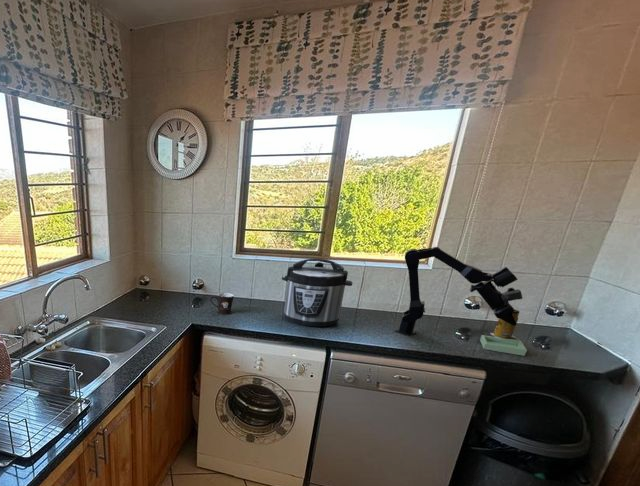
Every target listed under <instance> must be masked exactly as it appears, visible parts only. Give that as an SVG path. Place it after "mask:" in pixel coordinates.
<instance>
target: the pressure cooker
mask: <svg viewBox="0 0 640 486" xmlns="http://www.w3.org/2000/svg"><path fill="white" fill-rule="evenodd" d="M307 262H316V263H315V264H314V266H305V265H306V263H307ZM324 263H326V264H329V265H331V268H330V267H325V266H324V265H325V264H324ZM348 274H349V272H348V270H345V268H344V266H343V265H341V264H339V263H338V262H335V261H332V260H329V259H324V258H306V259H303V260H299V261H297V262H295V263H293V264H292V266H288V268H287V273H286V275H282V276H281V281H285V282H286V283H287V284H286V290H285V291H286V292H285V300H284V306H283V307H284V308H283V315H284V317H285V318H286V320H287V321H289V322H291V323H294V324H297V325H301V326H307V327H318V328H319V327H330V326H333V325H336V324H337V322H338V321H339V319H340V316H341V312H342V305H343V298H344V294H345V288H346V287H352V286H353V281H352V280H348V276H349V275H348Z"/></svg>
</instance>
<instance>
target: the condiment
mask: <svg viewBox="0 0 640 486" xmlns="http://www.w3.org/2000/svg"><path fill="white" fill-rule="evenodd" d="M514 310H515V311H513V313H512V315H513V317H514V319H515V321H516V324H518V321H519V314H520V311H519V310H518V309H514ZM516 326H517V325H515V326H513V325H512V324H510V323H508V322H506V321H504V320H502V319H500V318H498V319H497V323H496V326H495V328H494V331H493V332H489V334H490V335H491V336H492V337H497V338H501V339H511V340H517V341H520V339H519V338H517V337H516V336H514V335H513V334H514V332H515V329H516Z"/></svg>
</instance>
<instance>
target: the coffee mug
mask: <svg viewBox="0 0 640 486" xmlns="http://www.w3.org/2000/svg"><path fill="white" fill-rule="evenodd" d="M234 296H235V295H234V294H233V293H231V292H220V293H217V296H211V298H210V301H209V302H210V303H211V304H212V305H213V306H215V307H216V308H217V311H218V314H219V315H220V314H221V315H230V314H231V312H232V307H233V303H234V302H233V301H234V298H235V297H234ZM214 298H215V299H216V300H217V305H216V304H215V303H213V301H212V300H213V299H214Z"/></svg>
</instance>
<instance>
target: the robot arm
mask: <svg viewBox="0 0 640 486" xmlns="http://www.w3.org/2000/svg"><path fill="white" fill-rule="evenodd" d="M430 258H435V259H437V260H438V261H440V262H441V263H443V264H445V265H446V266H448V267H449V268H452V269H453V270H454V271H456V272H458V273H459V274H460V275H461V276H462V277H463V278H464V279H465V280H467V282H469V283H470V284H471V285H470V288H469V292H470V293H473V292H475V291H476V292H477V294H479V296H480V297H481V298H482V299H483V300H484V302H485V303H486V304H487V305H488V307H489V308H490V309H491V310H492V312H493V314H494V316H495V317H496V319H499V318H500V319H502V320H504V321H506V322H508V323H510V324H512V325H513V326H515V325H516V326H517V324H518V323H516V321H515V319H514V317H513V315H512V313H513V311H515V310H516V309H515V308H514V307H513V306H512V304H510V302H511V301H516V300H523V294H522V291H521V289H518V288H517V289H515V288H514V287H508V288H507V290H506V291H504V292H501V291H500V290H498V288H499V287H500V288H504V287H506V286H508V285H510V284H512V283H514V282H516V281H518V280H519V279H518V278H517V276H516V275H515V274H514V273H513V272H512V271H511V270H510V269H509V268H508V267H507V266H504V267H502V268H501V269H500V270H498V271H496V272H494V273H489V272H485V271H483V270H482V269H481V268H478V267H476V266H473V265H471V264H470V265H469V264H466V263H464V262H462V261H461V260H459V259H457V258H456V257H454V256H452V255H451V254H449V253H448V252H446V251H444V250H443V249H441V248H440V247H439V246H432V247H428V248H426V247H425V248H420V249H418V248H409V249H408V250H407V251H405V253H404V261H405V264H406V267H407V270H408V281H409V283H408V284H409V297H410V298H409V299H410V300H409V306H408V309H407V310H406V311H404V312H402V318H401V321H400V324H399V328H398V329H395V332H397V333H400V334H404V335H407V336H411V335H414V334H416V333H417V331H414V329H415V326H416V323H417V321H418V320H420V319H421V318H423V317H424V313H426V308H425V306H426V305H425V300H421V298H420V281H419V280H420V279H419V264H420V260H427V259H430ZM493 283H494V284H495V285H494V284H493ZM516 326H515V327H516Z"/></svg>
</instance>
